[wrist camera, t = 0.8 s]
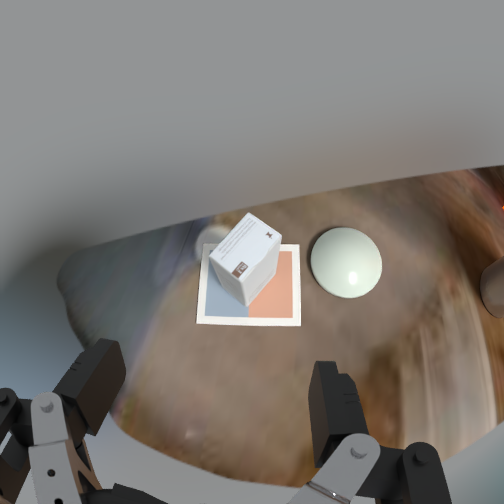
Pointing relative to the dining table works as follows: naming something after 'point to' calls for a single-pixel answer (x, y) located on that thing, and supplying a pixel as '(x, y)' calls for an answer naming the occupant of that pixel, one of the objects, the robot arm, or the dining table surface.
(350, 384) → the robot arm
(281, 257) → the blue and orange card
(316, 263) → the coaster
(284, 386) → the dining table surface
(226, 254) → the skincare box
